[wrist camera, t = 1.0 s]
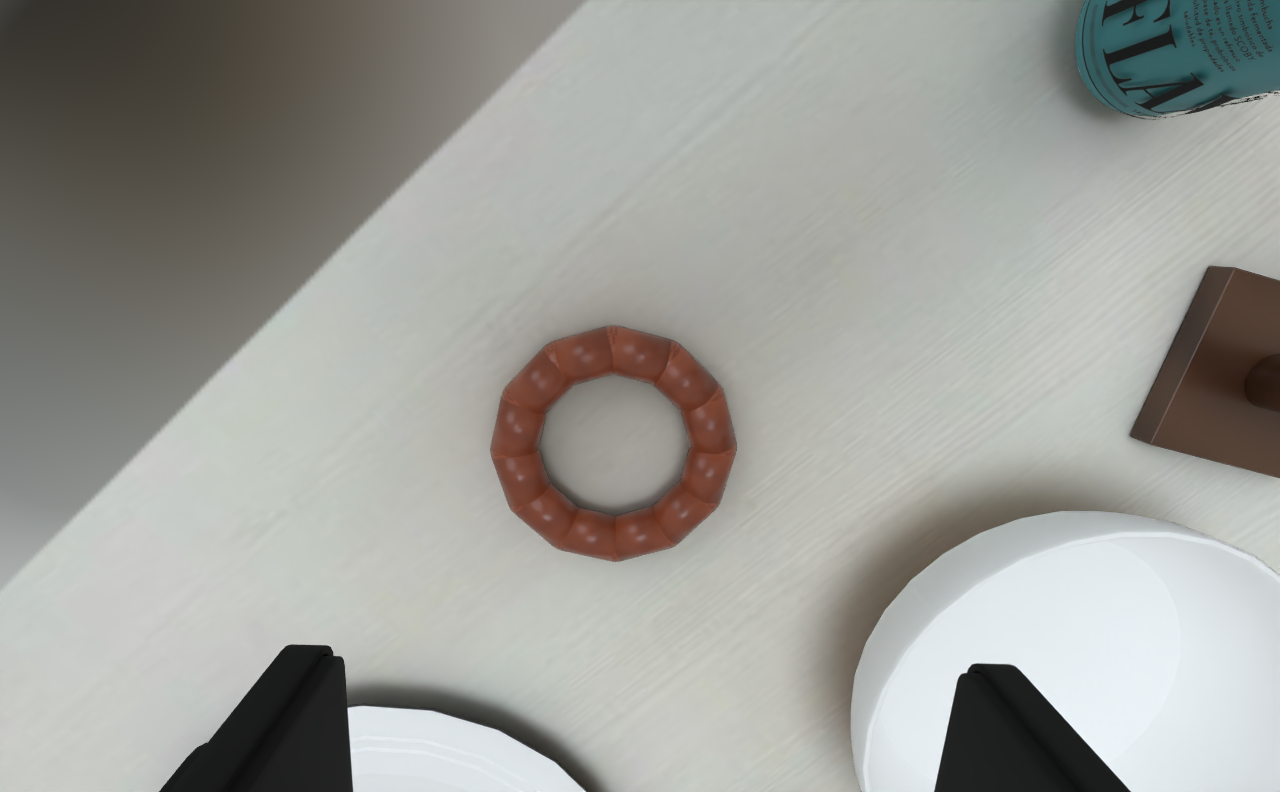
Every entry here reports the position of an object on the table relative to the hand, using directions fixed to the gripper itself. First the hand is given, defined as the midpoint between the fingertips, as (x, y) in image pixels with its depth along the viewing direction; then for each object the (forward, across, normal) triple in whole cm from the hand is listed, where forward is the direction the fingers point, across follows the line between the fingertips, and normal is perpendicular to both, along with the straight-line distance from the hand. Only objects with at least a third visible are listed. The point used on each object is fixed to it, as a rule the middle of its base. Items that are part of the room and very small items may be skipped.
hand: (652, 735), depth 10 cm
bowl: (+20, -20, +12) cm, 30 cm away
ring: (+18, +1, +2) cm, 18 cm away
